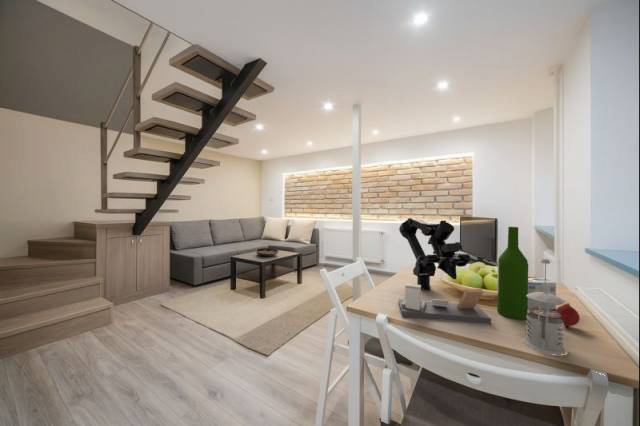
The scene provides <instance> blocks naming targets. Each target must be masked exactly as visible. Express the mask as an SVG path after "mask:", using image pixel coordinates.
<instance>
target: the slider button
mask: <svg viewBox="0 0 640 426" xmlns="http://www.w3.org/2000/svg"><path fill="white" fill-rule="evenodd" d="M404 286H405V289H404V290H405V298H404V299H405V308H409V309H414V310H420V308H421V301H422V298H421V297H422V296H421V295H422V291H421V290H422V289H421V285H417V283H415V284H414V283H410V282H409V283H407V282H406V283H405V285H404Z"/></svg>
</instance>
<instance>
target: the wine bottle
mask: <svg viewBox="0 0 640 426" xmlns="http://www.w3.org/2000/svg"><path fill="white" fill-rule="evenodd" d="M507 228H508V231H507V233H508V234H507V248H506V249H505V250H504V251H503V252H502V253H501V255H500V256H499V257H498V261H497V290H496V291H497V293H496V296H497V300H496V304H497V306H496V311H497V313H498V314H499V315H500V316H503V317H505V318H509V319H512V320H518V321H519V320H521V321H523V320H528V319H527V313H529V310H528V309H529V308H528V298H527V296H526V295H527V294H528V277H529V262H528V259H527V258H526V256H525V255H524V254H523V252H522V251H521V249H520V248H519V227H518V226H508V227H507Z"/></svg>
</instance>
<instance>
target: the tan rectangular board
mask: <svg viewBox="0 0 640 426" xmlns="http://www.w3.org/2000/svg"><path fill="white" fill-rule="evenodd" d="M483 293H484V290H483V289H482V288H469V289H468V288H467V289H466V288H465V290H464V292H463V294H462V296H461V297H460V300H459V302H458V303H457V304H458V305H457V308H458V309H474V308H475V306H476V305H477V304H478V302H479V300H480V299H481V297H482V295H483Z"/></svg>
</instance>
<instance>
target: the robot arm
mask: <svg viewBox="0 0 640 426" xmlns="http://www.w3.org/2000/svg"><path fill="white" fill-rule="evenodd" d="M418 230H420V232H421V234H423V236H426V237H429V238H428V241H427V244H428V245H431V247H432V250H433V252H432V254H426V253H425V251H424V249H423V248H422V245H421V244H420V241H419V239H418V237H417V235H416V234H417V232H418ZM398 231H399V233H400V235H401V236H402V237H403V238H405V239H406V240H407V243H408V244H409V246H410V249H411V252H412V253H413V255H414V258H415V259H416V260H415V261H416V262H415V264H414V265H415V266H414V268H412V274H413V275H414V276H416V277H417V278H416V279H417V282H416V285H421V290H425V291H426V290H427V291H431V289H432V286H431V277H435V275H436V271H437V269H439V270H441V271H442V272H444V273H445V274H446V275H448V276H449V277H450V278H451V279H452V280H457V278H458V277H457V267H466V266H467V264H469V263H470V262H471V260H472V257H471V256H470V254H468V253H466V254H465V253H464V254H463V253H461V254H458V255H457V256H456V257H454V256H455V255H456V253H457V252H460V251H461V250H463V245H462V243H461V242H459V241H455V242H453V243H450V242H449V243H446V241H447V240H448V239H449V238H450V237H451V236H452V234H453V232H454V231H455V227H454V225H452V224H451V223H449V222H447V221H446V220H440V222H438V223H433V222H426V221H424V220H423V219H419V218H418V217H408V218H407V220H406V221H404V222H401V224H400V226H399V229H398ZM436 264H437V265H438V266H436Z"/></svg>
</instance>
